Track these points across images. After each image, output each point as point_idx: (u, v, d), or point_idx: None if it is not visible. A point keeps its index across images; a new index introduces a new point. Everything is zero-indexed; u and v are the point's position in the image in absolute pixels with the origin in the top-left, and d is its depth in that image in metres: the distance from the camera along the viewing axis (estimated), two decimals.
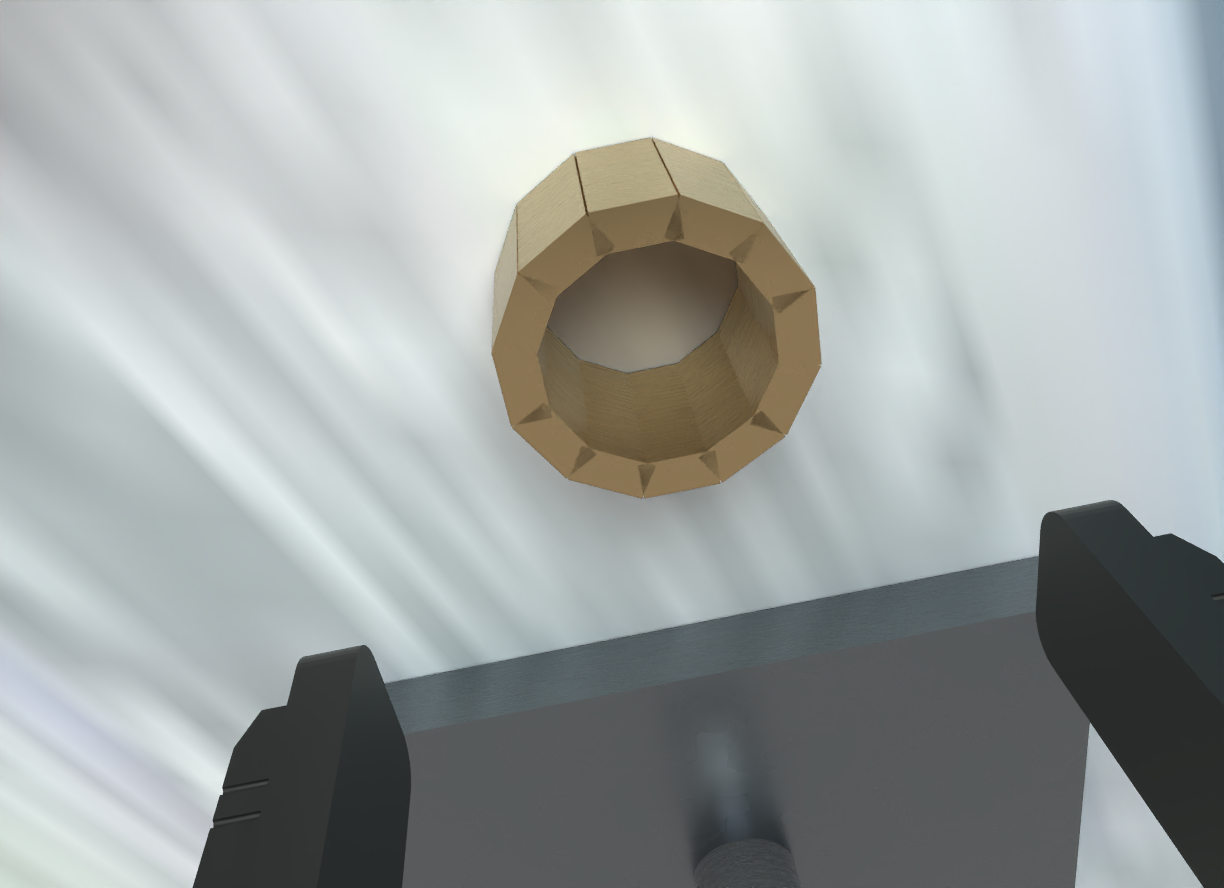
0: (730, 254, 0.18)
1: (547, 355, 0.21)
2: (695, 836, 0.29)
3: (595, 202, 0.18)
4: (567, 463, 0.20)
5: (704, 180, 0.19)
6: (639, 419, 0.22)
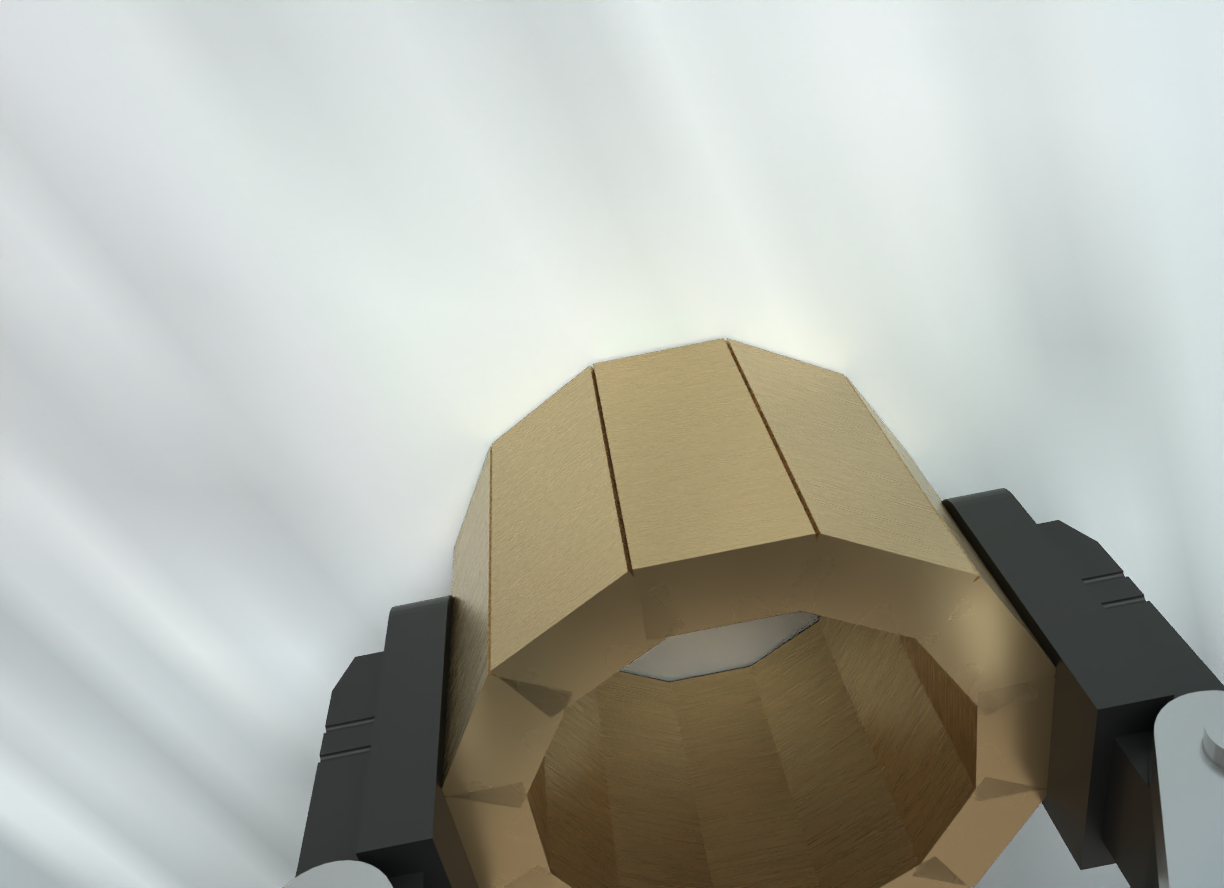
0: (908, 628, 0.09)
1: None
2: None
3: (644, 533, 0.09)
4: None
5: (840, 453, 0.10)
6: (699, 805, 0.13)
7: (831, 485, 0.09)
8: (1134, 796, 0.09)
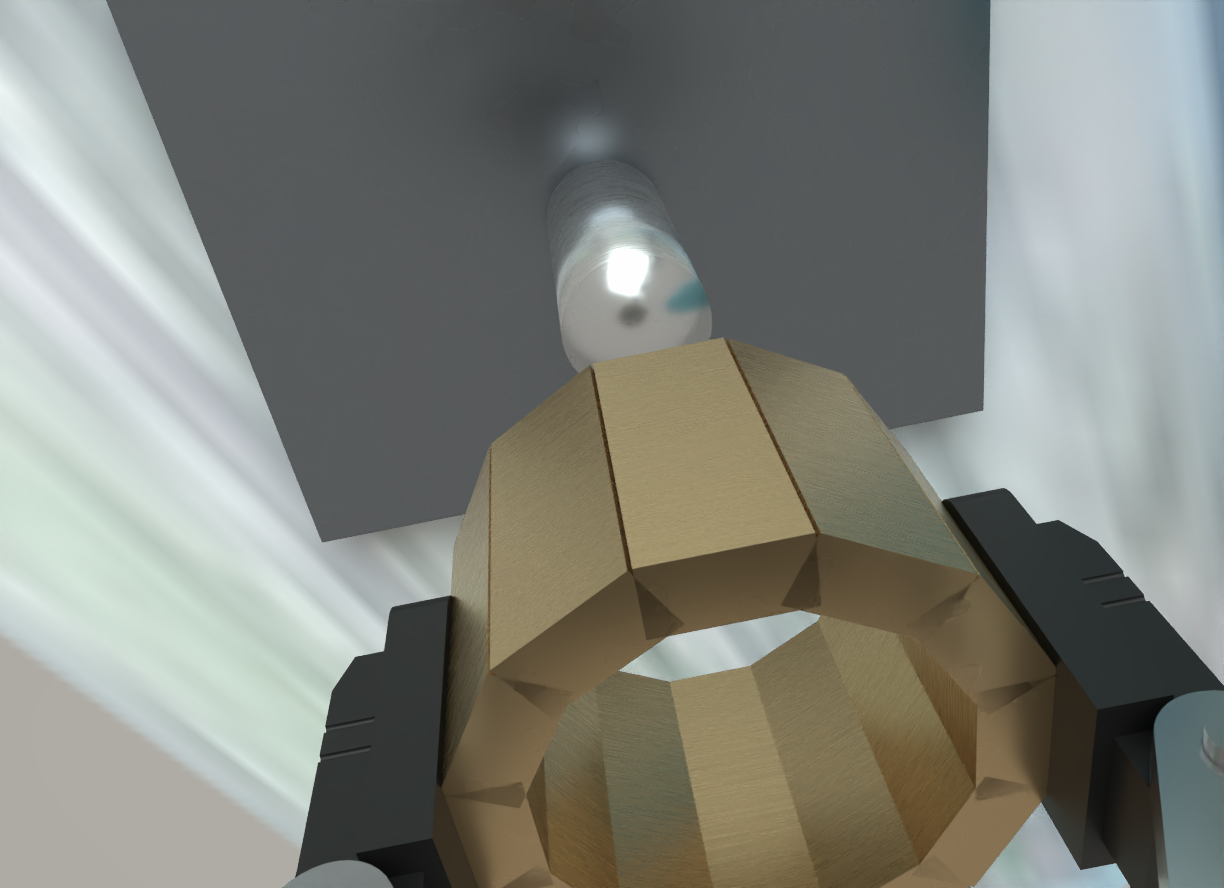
0: (908, 627, 0.09)
1: None
2: (543, 149, 0.25)
3: (644, 533, 0.09)
4: None
5: (840, 452, 0.10)
6: (699, 805, 0.13)
7: (831, 484, 0.09)
8: (1134, 796, 0.09)
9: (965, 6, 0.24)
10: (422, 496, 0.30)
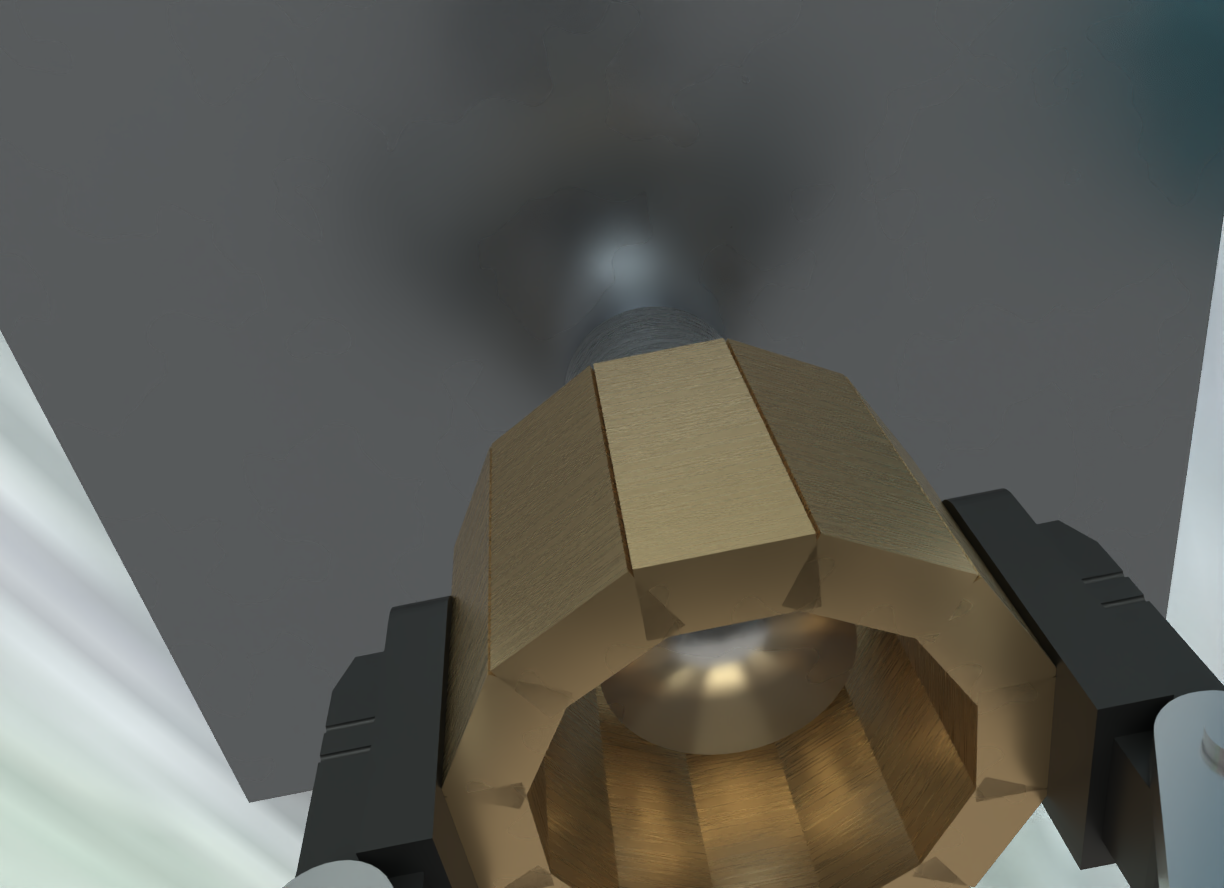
0: (908, 628, 0.09)
1: None
2: (561, 293, 0.17)
3: (645, 534, 0.09)
4: None
5: (840, 453, 0.10)
6: (699, 805, 0.13)
7: (831, 485, 0.09)
8: (1134, 796, 0.09)
9: (1206, 83, 0.16)
10: None
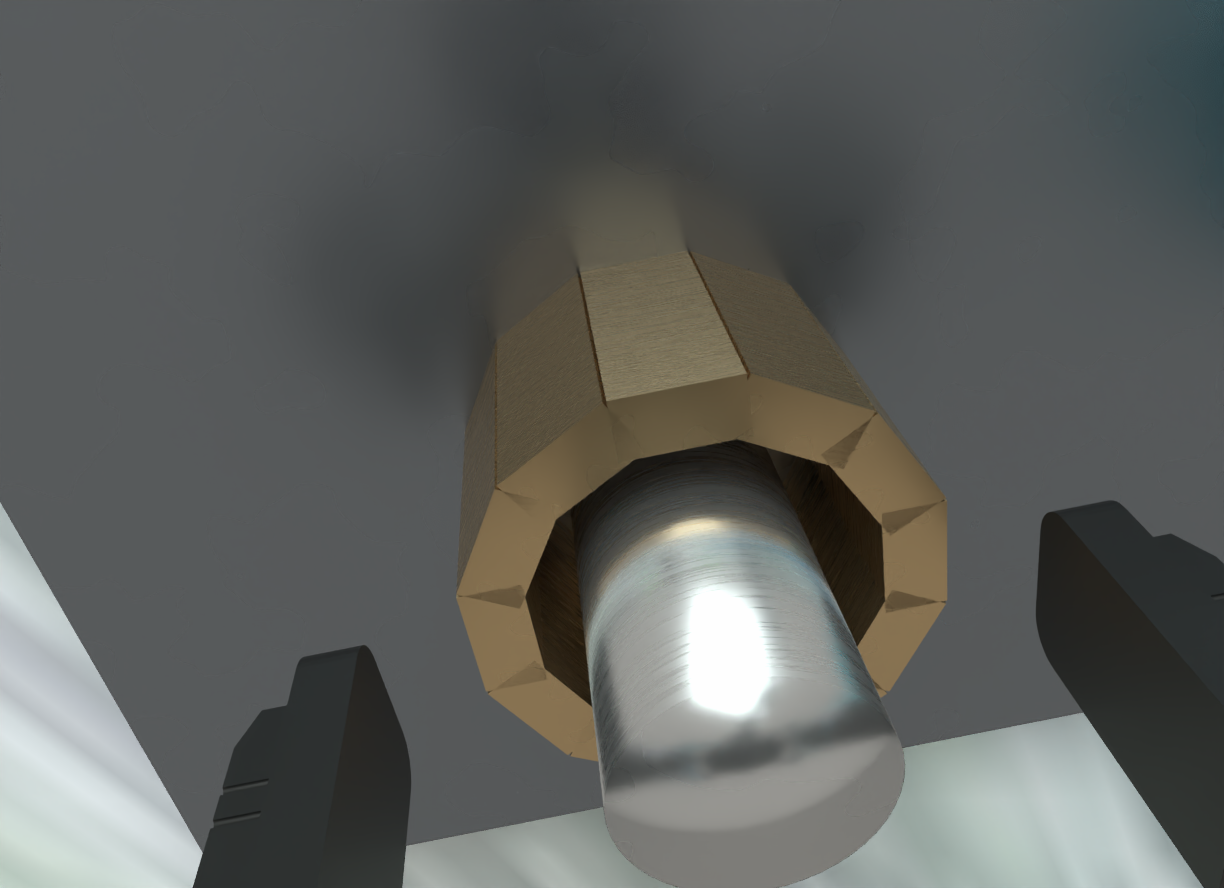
0: (823, 456, 0.12)
1: None
2: None
3: (616, 379, 0.11)
4: (569, 736, 0.14)
5: (775, 330, 0.13)
6: None
7: (764, 347, 0.12)
8: None
9: None
10: None
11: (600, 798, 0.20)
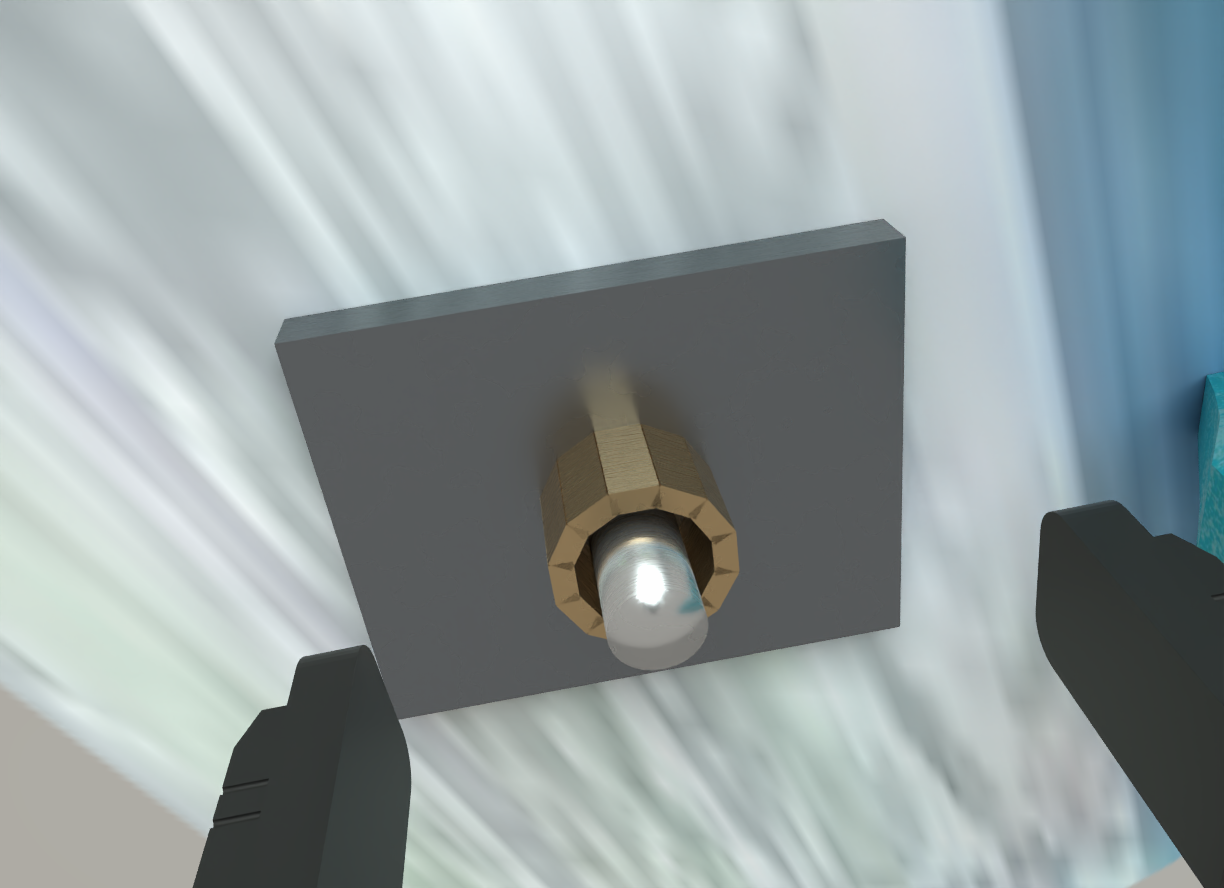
0: (688, 514, 0.31)
1: None
2: None
3: (612, 485, 0.31)
4: (587, 625, 0.33)
5: (673, 463, 0.32)
6: None
7: (667, 472, 0.32)
8: None
9: (886, 371, 0.34)
10: (475, 687, 0.39)
11: (591, 678, 0.39)
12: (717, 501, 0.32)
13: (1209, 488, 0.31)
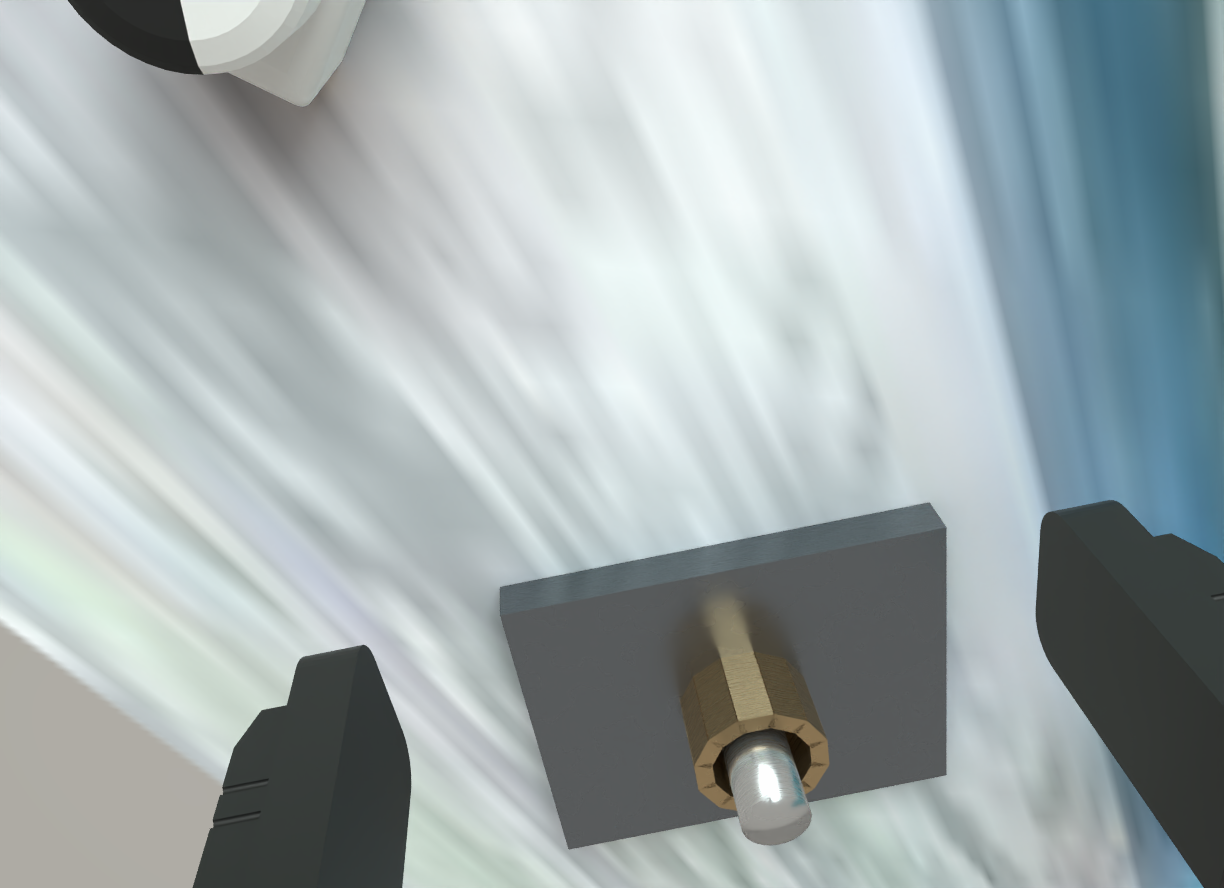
0: (793, 730, 0.44)
1: None
2: None
3: (739, 712, 0.44)
4: (720, 801, 0.46)
5: (780, 689, 0.45)
6: None
7: (777, 700, 0.45)
8: None
9: (933, 610, 0.47)
10: (628, 826, 0.52)
11: (713, 817, 0.53)
12: (813, 716, 0.45)
13: None
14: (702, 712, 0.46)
